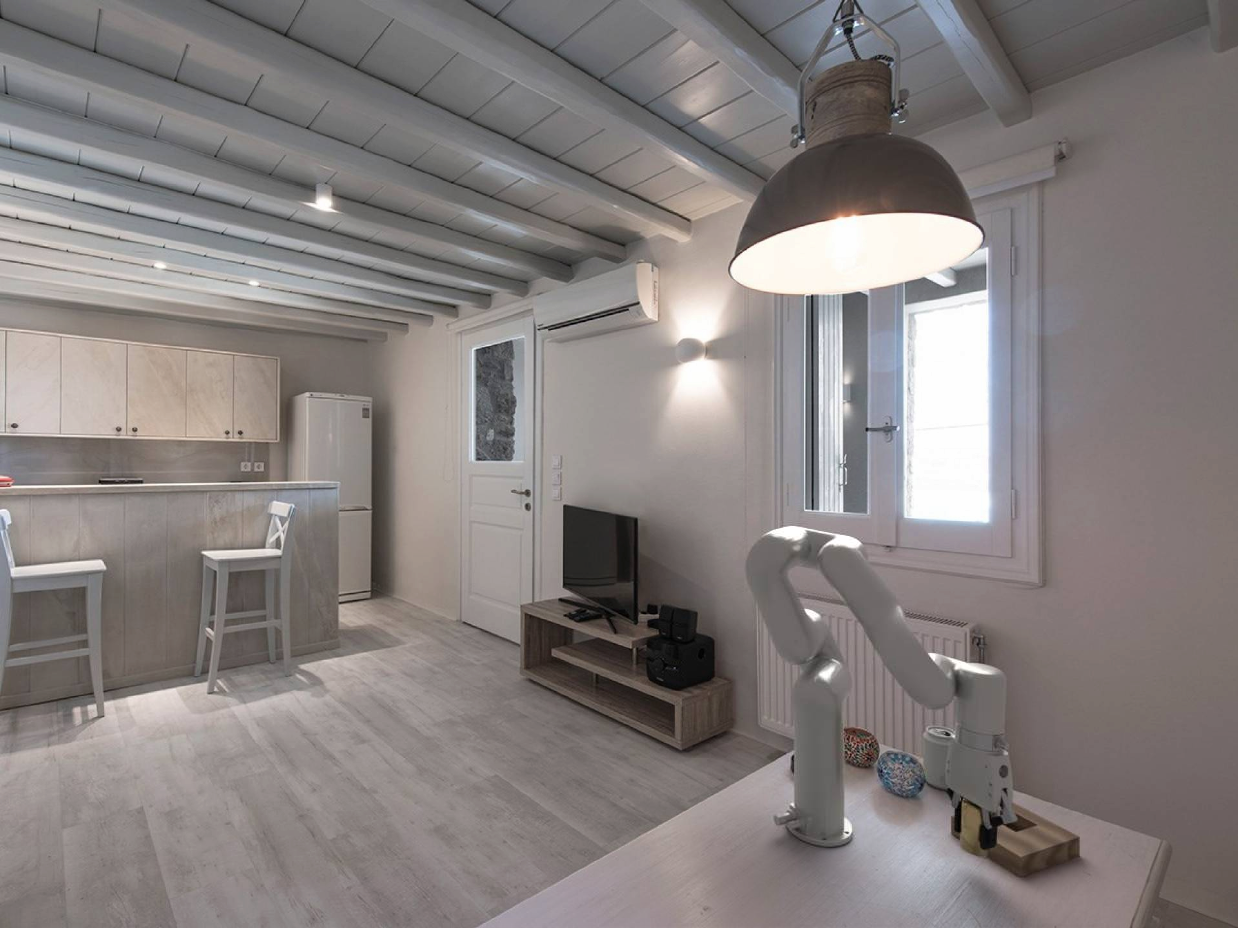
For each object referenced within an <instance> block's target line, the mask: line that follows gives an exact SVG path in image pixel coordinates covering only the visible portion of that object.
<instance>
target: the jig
mask: <svg viewBox="0 0 1238 928" xmlns="http://www.w3.org/2000/svg"><path fill="white" fill-rule="evenodd" d="M1012 808H1013V810H1014V812H1015V815H1016V817H1017V821H1016V822H1013V823H1007V824H1003V825H1001V826H998V827H997V844H996V846H995V847H993V848H990V849H989V854H988V855H987V856H986V857H988V858H990V859H991V860H992V861H995V862H997V864H998V865H999V864H1000V865H1001V866H1002V867H1004V868H1005V869H1007V870H1009V871H1011V872H1012V873H1014V874H1015V875H1017V876H1018V877H1020V878H1022V877H1026V876H1027V875H1030V874H1033V873H1036V872H1039V871H1042V870H1044V869H1046V868H1050V867H1052V866H1055V865H1058V864H1061V863H1064V862H1066V861H1069V860H1071V859H1075V858H1077V857H1080V856H1081V853H1080V849H1081V847H1080V846H1081V845H1080V843H1081V841H1080V840H1081V839H1080V836H1079V835H1077V834H1075V833H1073V832H1071V831H1069V830H1068V829H1065V828H1064V827H1061V825H1060V826H1059V825H1058V824H1056V823H1055V822H1052V821H1050V820H1048V819H1046V818H1044V817H1042V816H1040V815H1038V814H1036V813H1035V812H1033V811H1032V810H1031V811H1030V810H1029V809H1026V807H1025V808H1024V807H1023V806H1021V805H1019V804H1017V803H1015V802H1013V804H1012ZM999 811H1000V816H1001V815H1003V812H1002V809H1001V807H1000V806H999ZM991 819H992V812H991ZM950 833H951V835H953V836H955V837H956V838H957V839H959V840H960V833H957V832H955V831H954V814H953V815H950Z"/></svg>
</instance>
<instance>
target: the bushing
mask: <svg viewBox="0 0 1238 928" xmlns="http://www.w3.org/2000/svg"><path fill="white" fill-rule="evenodd" d="M982 825H984V820H983V814H982V808H981V807H979V806H978V805H976V804H974V803H973V802H971V801H969V800H967V799H966V798H963V799H962V809H961V832H960V839H959V846H960V848H961V849H962V850H963V851H964V852H965V853H968V854H969V855H973V856H975V857H980V858H981V857H988V856H987V855H988V854H989V849H987V850H983V849H981V848H980V829H981V826H982Z"/></svg>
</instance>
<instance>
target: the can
mask: <svg viewBox="0 0 1238 928" xmlns="http://www.w3.org/2000/svg"><path fill="white" fill-rule="evenodd" d="M953 735H955V730H953V729H951V728H949V727H945V726H941V725H929V726H927V727H926V728H925V731H924V732H923V734H922V770H923V769H924V773H925V775H926V780H925V781H926V782H927V783H928V784H929V786H932V787H934V788H936V789H940V790H946V791H947V789H945V787H944V786H943V785H942V783H941V782H940V777H941V776H942V775H943V774H944V773H945V772H946V763H947V756H948V750H949V746H950V742H951V739H952V736H953Z"/></svg>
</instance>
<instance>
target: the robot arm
mask: <svg viewBox="0 0 1238 928" xmlns="http://www.w3.org/2000/svg"><path fill="white" fill-rule="evenodd" d="M796 567H801V568H806V569H811V570H816V571H819V572H820V573H821V575H822V577H823V578H824V580H825V581H826V582H827V583H828V584H829V586H830V588H832V589H833V591H834V592H835V593H836V594H837V596H838V597H839V599H841V601H842V602H843V603H844V604H845V606H846V607H847V608H848V610H849V611H850V612H851V614H852V615H853V616H854V617H855V619H857V621H858V622H859V624H860V625H861V627H862V629H863V630H864V633H865V635H866V637H867V639H868V640H869V642H870V643H871V645H872V647H873V648H874V650H875V651H876V653H877V655H878V657H879V658H880V660H881V661H882V663H883V665H884V667H885V668H886V669H887V671H888V672H889V673H890V675H891V676H892V677H893V679H895V681H896V682H897V683H898V685H899V686H900V687H901V688H902V690H903V692H904V693H906V695H907V696H908V697H909V698H910V700H912V701H913V702H915V703H916V704H917V705H918V706H920V707H922V708H923V709H926V710H931V711H937V710H942V709H946V708H947V707H948V706H949V705H950V704H951V703H952V702H953V700H954V699H955V716H954V717H955V718H954V719H955V720H954V721H955V722H954V723H955V724H954V731H955V735H953V736H952V739H951V742H950V746H949V750H948V756H947V763H946V772H945V773H944V774H943V775H942V776H941V777H940V782H941V783H942V785H943V786H944V787H945V789H947V790H946V793H947V796H948V797H949V799H950V801H951V803H950V804H951V806H952V808H953V809H954V812H953V815H954V831H955V832H957V833H960V832H961V809H962V799H963V798H966V799H967V800H969V801H971V802H973V803H974V804H976V805H978V806H979V807H981V808H982V814H983V820H984V825H982V826H981V829H980V848H981V849H983V850H987V849H990V848H993V847H995V846H996V844H997V827H998V826H1001V825H1003V824H1007V823H1013V822H1016V821H1017V817H1016V815H1015V812H1014V810H1013V808H1012V804H1013V803H1014V796H1013V795H1014V788H1013V786H1014V785H1013V783H1014V782H1013V773H1012V765H1011V759H1010V755H1009V752H1008V751H1009V749H1010V743H1008V742H1006V740H1005V724H1006V723H1005V721H1006V701H1007V700H1006V699H1007V677H1006V675H1005V673H1004V672H1003V671H1002V670H1001V669H999V668H997V667H996V666H995V667H994V666H992V665H989V664H984V663H977V662H965V661H962V660H959V659H956V658H952V657H949V656H946V655H944V654H940V653H937V652H936V653H934V652H927V651H926V649H925V648H924V646H923V645H922V644H921V643H920V641H919V639H918V637H917V636H916V635H915V633H914V631H913V630H912V628H911V626H910V624H909V621H908V619H907V615H906V612H905V609H904V607H903V604H902V603H901V601H900V599H899V598H898V596H897V595H896V594H895V593H894V592H893V590H892V589H891V588H890V587H889V585H888V583H886V582H885V581H884V579H883V578H882V576H880V574H879V573H878V572H877V571H876V569H874V567H873V566H872V565H871V564H870V562H869V556H868V550H867V549H866V547H865V546H864V544H863V543H862V542H861V541H859V539H856V538H854V537H852V536H850V535H849V536H848V535H845V534H843V535H842V534H838V533H832V532H827V531H826V532H825V531H821V530H817V529H811V528H805V527H803V526H802V527H801V526H795V525H794V526H792V525H791V526H785V527H783V526H782V527H781V528H776V529H773V530H771V531H768V532H767V533H765V534H763V535H761V537H759V538H758V539H757V540H756V541H755V542H754V543H753V545H752V546H751V548H750V550H749V552H748V553H747V556H746V559H745V568H744V571H745V578H746V582H747V584H748V589H749V591H750V592H751V595H752V596H753V598H754V601H755V603H756V606H757V608H758V610H759V613H760V616H761V618H762V620H763V622H764V625H765V627H766V631H767V632H768V634H769V636H770V639H771V641H772V643H773V644H772V645H774V648H775V650H776V652H777V654H778V656H779V658H780V659H781V660H783V661H784V662H786V663H787V664H789V665H793V666H799V667H800V669H801V671H802V672H801V673H800V674H799V675H798V676H797V678H796V679H795V681H794V683H793V685H792V686H793V687H792V690H791V696H790V698H791V699H790V701H791V710H792V711H791V712H792V718H793V719H792V720H793V753H794V754H793V765H794V766H793V767H794V768H793V769H794V770H793V778H794V779H793V782H794V783H793V789H794V790H793V796H794V797H793V802H791V803H789V809H787V810H786V812H785V813H778V814H775V815H774V816H773V822H774V824H775V825H776V827H779V826H785V825H786V827H787V828H788V831H789V832H790V833H791V834H792V835H793V836H794V837H796V838H798V839H800V840H801V841H802V842H806V843H808V844H810V845H813V846H818V847H827V848H828V847H834V848H835V847H839V846H843V845H846V844H847V843H848V842H850V841H851V840H852V839H853V835H854V834H853V833H854V829H853V828H854V827H853V825H852V823H851V822H850V820H849V819H847V817H845V730H844V729H845V728H844V718H843V716H844V715H843V710H844V705H845V703H846V701H847V699H848V697H849V695H850V693H851V690H852V686H853V685H852V684H853V680H852V676H851V672H850V669H849V667H848V664H847V662H846V661H845V660H846V659H845V658H844V656H843V654H842V651H841V649H840V647H839V645H838V643H837V640H836V639H835V636H834V635H833V632H832V630H831V628H830V625H829V624H828V623H827V621H826V620H825V619H824V618H823V617H822V615H820V613H818V612H816V611H814V610H812V609H809V608H805V607H804V606H803V603H802V602H801V599H800V597H799V594H798V592H797V590H796V589H795V587H794V585H793V584H792V582H791V580H790V579H789V576H788V573H789V571H790V570H791V569H793V568H796ZM999 806H1000V807H1001V809H1002V812H1003V815H1001V816H1000V811H999ZM991 812H992V819H991Z"/></svg>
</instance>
